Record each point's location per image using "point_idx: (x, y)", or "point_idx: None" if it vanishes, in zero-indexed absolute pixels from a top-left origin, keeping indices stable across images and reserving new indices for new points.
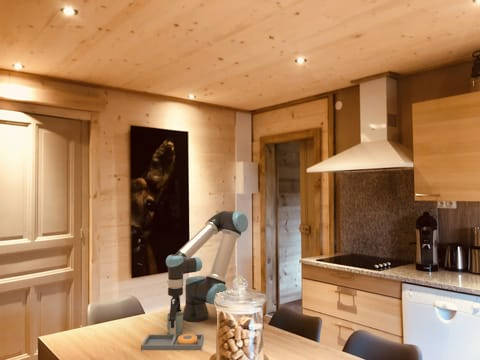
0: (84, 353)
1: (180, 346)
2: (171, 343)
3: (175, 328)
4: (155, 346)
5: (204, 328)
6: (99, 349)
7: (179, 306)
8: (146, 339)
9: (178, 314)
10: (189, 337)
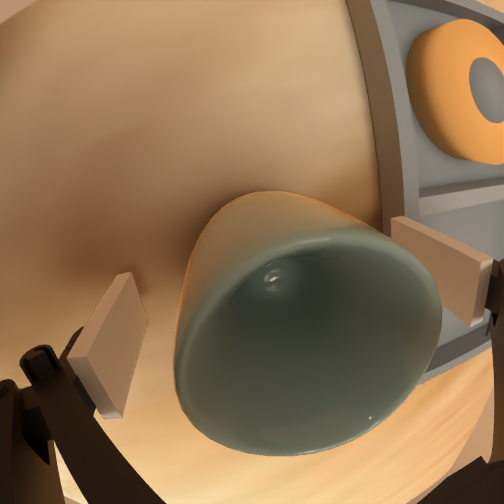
0: (456, 447)
1: None
2: None
3: (434, 230)
4: None
5: (63, 44)
6: (441, 443)
7: (57, 442)
8: (461, 357)
9: (205, 343)
10: (493, 74)
